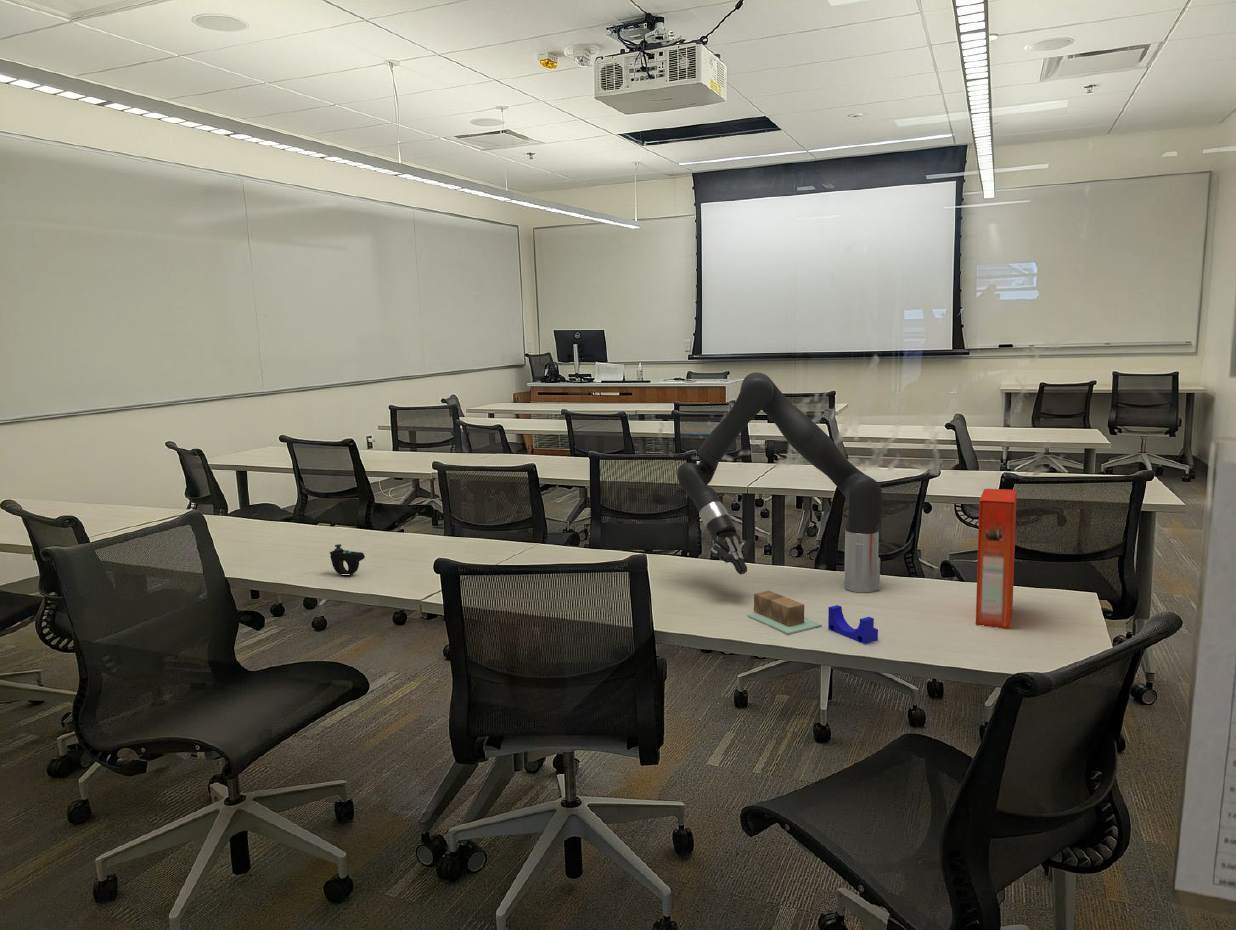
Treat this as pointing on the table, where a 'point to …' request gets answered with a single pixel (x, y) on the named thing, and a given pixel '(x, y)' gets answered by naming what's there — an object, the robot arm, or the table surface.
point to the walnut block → (779, 608)
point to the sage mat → (783, 628)
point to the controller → (345, 555)
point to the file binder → (996, 557)
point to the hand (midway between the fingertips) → (743, 572)
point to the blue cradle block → (840, 626)
